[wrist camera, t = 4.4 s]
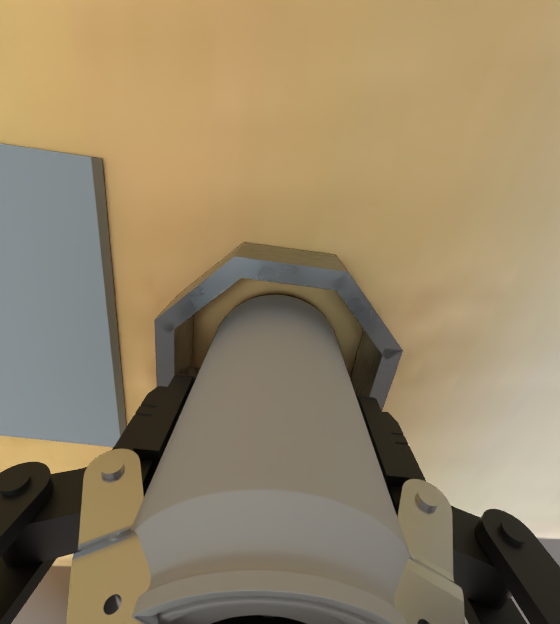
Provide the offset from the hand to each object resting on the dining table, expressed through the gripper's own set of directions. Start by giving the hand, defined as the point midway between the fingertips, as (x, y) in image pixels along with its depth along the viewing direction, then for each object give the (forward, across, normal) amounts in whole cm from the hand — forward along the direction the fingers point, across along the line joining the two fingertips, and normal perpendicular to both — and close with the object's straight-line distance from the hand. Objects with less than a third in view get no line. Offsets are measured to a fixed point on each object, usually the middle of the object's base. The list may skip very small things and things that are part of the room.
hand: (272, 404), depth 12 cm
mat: (+5, +14, 0) cm, 15 cm away
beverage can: (+5, 0, 0) cm, 5 cm away
